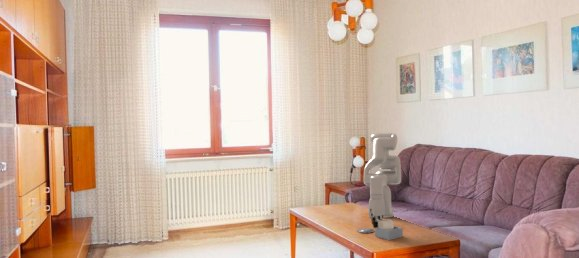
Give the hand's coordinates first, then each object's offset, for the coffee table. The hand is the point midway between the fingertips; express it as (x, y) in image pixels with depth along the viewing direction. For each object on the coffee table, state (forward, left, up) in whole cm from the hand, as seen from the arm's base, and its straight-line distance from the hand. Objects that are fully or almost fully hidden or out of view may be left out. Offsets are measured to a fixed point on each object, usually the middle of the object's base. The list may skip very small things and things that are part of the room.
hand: (377, 227), depth 257 cm
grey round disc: (+2, -8, -4) cm, 9 cm away
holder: (0, +8, -4) cm, 9 cm away
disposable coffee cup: (-16, -16, -4) cm, 23 cm away
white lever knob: (0, +5, -4) cm, 6 cm away
